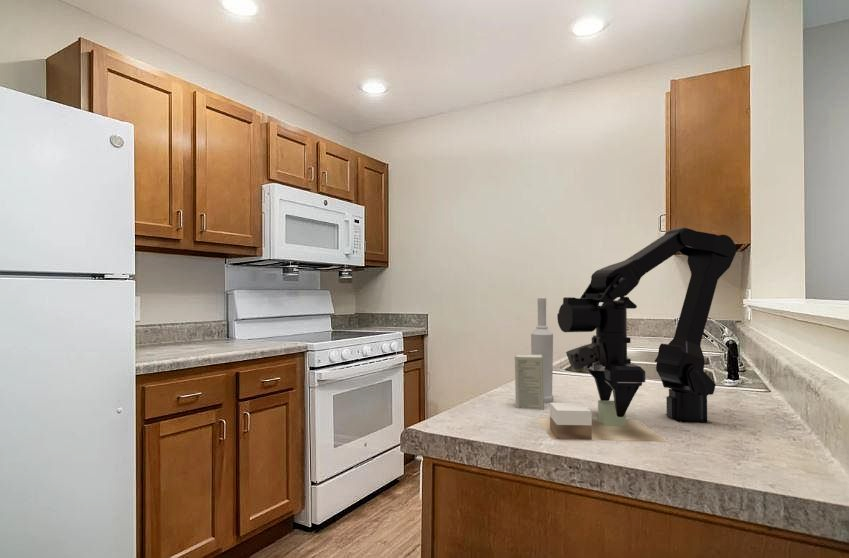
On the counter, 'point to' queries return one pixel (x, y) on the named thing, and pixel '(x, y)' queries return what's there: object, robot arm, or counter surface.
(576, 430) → the tower base
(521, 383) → the skincare box
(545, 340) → the bottle
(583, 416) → the tower mid
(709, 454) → the counter surface
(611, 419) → the green cube
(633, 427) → the cutting board
